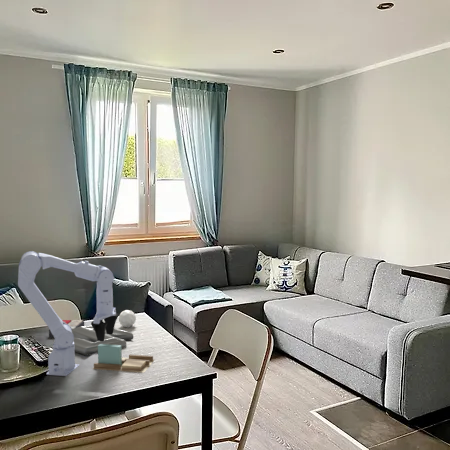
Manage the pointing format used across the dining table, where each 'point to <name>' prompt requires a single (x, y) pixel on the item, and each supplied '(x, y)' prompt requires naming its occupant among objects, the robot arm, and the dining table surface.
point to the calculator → (71, 325)
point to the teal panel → (110, 354)
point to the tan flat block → (133, 368)
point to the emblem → (89, 344)
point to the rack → (118, 366)
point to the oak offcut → (133, 364)
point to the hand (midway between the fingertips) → (105, 337)
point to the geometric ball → (127, 318)
